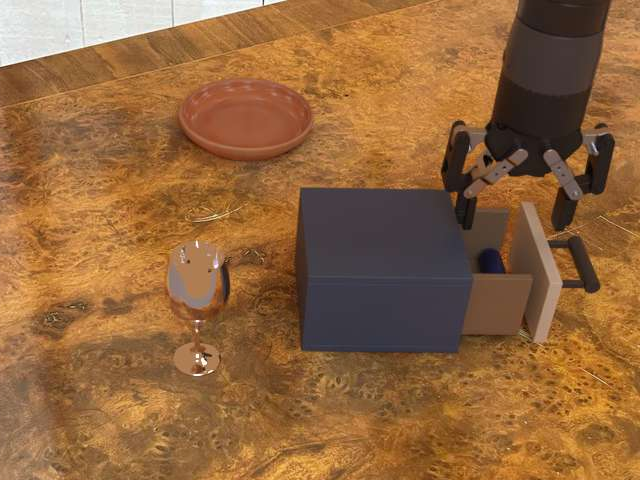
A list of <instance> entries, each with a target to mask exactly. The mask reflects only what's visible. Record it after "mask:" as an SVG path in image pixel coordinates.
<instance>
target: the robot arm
mask: <svg viewBox="0 0 640 480" xmlns="http://www.w3.org/2000/svg"><path fill="white" fill-rule="evenodd" d="M613 1H614V0H518V3H517V9H516V12H515V15H514V19H513V22H512V24H511V26H510V29H509V33H508V36H507V40H506V45H505V47H504V49H503V52H502V58H501V60H502V63H501V69H500V73H499V79H498V82H497V83H498V84H497V88H496V92H495V98H494V102H493V106H492V113H491V117H490V120H489V121H488V122H487V124H486V125H485V126H484V127H478V126H477V127H475V126H467V124H466V122H465V121H464V120H462V119H458V120H455V121H454V122H453V123H452V125H451V128H450V132H449V136H448V140H447V145H446V148H445V152H444V157H443V160H442V164H441V168H440V176H441V180H442V183H443V188H444V190H446V191H447V192H450V193H454V192H455V193H457V195H456V200H455V204H454V207H455V210H454V211H455V215H456V218H457V222H458V224H461V226H462V229H463V230H471V228H472V223H473V219H474V214H475V209H476V207H477V203H478V199H479V198H478V195H479V194H480V193H482V192H483V191H484V190H485V189H486V188H487V187H488V186H493V185H495V184H497V182H499V181H500V180H501V179H502V178H503V177H505V176H506V175H508V178H509V177H510V178H519V177H524V176H529V177H530V176H531V177H534V178H545V175H549V174H550V173H551V174H552V173H553V175H554V176H555V178H556V181H558V183H559V184H560V186H558V189H557V193H556V197H555V201H554V204H553V208H552V211H551V216H550V223H551V225H552V227H553V231H554V232H558V233H561V232H562V233H563V232H564V231H565V229H566V227H569V226H570V225H571V224H572V223H573V221H574V217H575V214H576V210H577V207H578V204H579V200H581V199H582V197H584V196H585V195H589V194H592V195H594V196H598V195H599V196H600V195H602V193H604V192H605V190H606V186H607V182H608V177H609V172H610V168H611V164H612V159H613V155H614V150H615V145H616V139H615V138H614V136H613V134H612V132H611V130H610V129H609V126H608V124H606V123H605V122H599V123H597V124H596V125H595V126H594V127H593V128H586V129H585V128H584V129H582V125H583V123H584V120H585V115H586V112H587V109H588V106H589V102H590V98H591V94H592V90H593V87H594V83H595V79H596V76H597V72H598V68H599V65H600V61H601V57H602V53H603V47H604V40H605V39H604V38H605V31H606V26H607V23H608V19H609V15H610V11H611V9H612V4H613ZM482 143H484V145H485V147H486V148H484V150H482V151H481V152H480V153H479V154H478V155H477V156H476V157H475V160H474V162H473V163H472V164H471V165H470V166H468V168H466V170H464V167H465V163H466V159H467V156H468V155H471V154H472V153H473V152H474V150H475V149H476V147H477V146H478V145H479V144H482ZM582 145H584V147H585V149H586V151H587V159H586V164H585V169H584V173H581V174H579V175H576V174H575V173H574V171H573V169H572V167H571V166H570V164H569V163H568V160H567V159H569V158H570V157H571V156H573V154H574V153H576V152H577V151H578V150H579V149H580V148H581V147H582ZM494 162H495V163H494ZM493 163H494V164H493ZM463 170H464V171H463Z"/></svg>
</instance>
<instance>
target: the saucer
mask: <svg viewBox="0 0 640 480" xmlns="http://www.w3.org/2000/svg"><path fill="white" fill-rule="evenodd" d="M178 119H179V123H180V126H181V129H182V131H183V132H184V133H185V135H186V136H187V137H188V138H189V139H190V140H191V141H192V142H194V143H195V144H196V145H198V146H199V147H200V148H202V149H204V150H205V151H207V152H209V153H211V154H212V155H214V156H215V155H216V156H217V157H221V158H224V159H228V160H233V161H240V162H256V161H257V162H258V161H264V160H270V159H274V158H276V157H279V156H281V155H283V154H285V153H287V152H289V151H290V150H293V149H294V148H296V147H297V146H298V145H300V144H301V143H303V142H304V141H305V140H306V139H307V138H308V136H309V135H310V134H311V131H312V129H313V126H314V121H315V114H314V109H313V107H312V105H311V104H310V102H309V101H308V99H306V97H304V96H303V95H302V94H301V93H299V92H298V91H297V90H295V89H293V88H291V87H289V86H287V85H285V84H282V83H279V82H276V81H273V80H269V79H264V78H257V77H256V78H255V77H230V78H223V79H217V80H213V81H211V82H208V83H204V84H202V85H200V86H198V87H197V88H195V89H194V90H192V91H191V92H189V93H188V94H186V96H185V97H184V98H183V100H182V101H181V102H180V105H179V108H178Z"/></svg>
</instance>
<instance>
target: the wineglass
mask: <svg viewBox="0 0 640 480" xmlns="http://www.w3.org/2000/svg"><path fill="white" fill-rule="evenodd" d="M165 268H166V269H165V273H164V278H163V294H164V299H165V302H166V304H167V305H166V306H168V309H169V310H170V311H171V312H172V314H174V316H176V317H177V318H179V319H181V320H183V321H185V322H188V323H191V324H190V325H191V327H192V329H193V334H194V341H191V342H187V343H184V344H182V345H181V346H179V347H178V348H176V350H175V351H174V353H173V356H172V362H173V365H174V367H175V368H176V369H177V370H178V371H179V372H181V373H183V374H185V375H187V376H191V377H201V376H208V375H209V374H212V373H214V372H215V371H216V370H218V369H219V367H220V365H221V363H222V354H221V352H220V351H219V349H218V348H216V346H214V345H213V344H211V343H208V342H204V341H201V339H200V338H201V337H200V335H201V330H202V327H203V324H204V323H206V322H209V321H212V320H214V319H216V318H217V317H219V316H220V315H221V314H222V313H223V312H224V310H225V309H226V307H227V305H228V303H229V300H230V295H231V278H230V276H231V275H230V272H229V267H228V264H227V260H226V256H225V254H224V251H223V250H222V249H221V248H220V247H219V246H218V245H216V244H214V243H212V242H209V241H205V240H189V241H185V242H182V243H180V244H178V245H176V246H175V247H174V248H173V249H172V251H171V252H170V255H169V257H168V261H167V265H166V267H165Z"/></svg>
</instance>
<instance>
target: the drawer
mask: <svg viewBox="0 0 640 480" xmlns="http://www.w3.org/2000/svg"><path fill="white" fill-rule="evenodd" d="M454 209H455V206H454ZM517 213H518V214H517V218H516V222H515V226H514V230H513V234H512V239H511V242H510V246H509V250H508V255H507V257H506V259H507V263H508V267H509V271H510V273H507V274H482V270H481V267H480V263H479V256H480V254H481V253H482V252H483V251H484V250H486V249H495V250H497V251H498V252H499V253H500V254H501V253H502V249H503V244H504V240H505V236H506V231H507V227H508V224H509V219H510V214H511V210H510V208H509V207H507V206H506V207H505V206H504V207H500V206H499V207H498V206H496V207H495V206H476V209H475V214H474V219H473V223H472V228H471V230H463V229H462V226H461V224H459V227H460V231H461V234H462V238H463V242H464V245H465V249H466V253H467V256H468V260H469V264H470V267H471V271H472V275H473V278H474V279H473V284H472V289H471V293H470V298H469V302H468V307H467V311H466V316H465V320H464V325H463V329H462V334H461V335H481V336H482V335H488V336H489V335H491V336H493V335H494V336H499V335H500V336H519V334H520V330H521V326H522V322H523V318H524V317H525V320H526V324H527V327H528V330H529V333H530V336H531V339H532V343H536V344H537V343H538V344H539V343H542V344H543V343H544V344H545V343H546V342H547V340H548V335H549V332H550V330H551V326H552V322H553V318H554V315H555V312H556V309H557V305H558V301H559V298H560V295H561V291H562V289H583V290H584V292H585V293H587V294H595V293H598V292H599V291H600V289H601V286H602V285H601V282H600V280H599V277H598V275H597V272H596V270H595V268H594V266H593V263H592V260H591V258H590V255H589V253H588V250H587V248H586V246H585V243H584V241H583V239H582V237H581V236H579V235H572V236H570V237H569V238H567V239H564V240H563V239H559V240H558V239H547V237H546V233H545V231H544V229H543V225H542V223H541V220H540V217H539V215H538V212H537V209H536V207H535V204H534V202H533V201H521V202H520V205H519V209H518V212H517ZM551 249H568V253H569V254H570V257H571V260H572V262H573V264H574V268H575V269H576V272H577V274H578V278H579V279H562V277H561V274H560V271H559V269H558V266H557V263H556V261H555V257H554V255H553V253H552V250H551Z"/></svg>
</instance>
